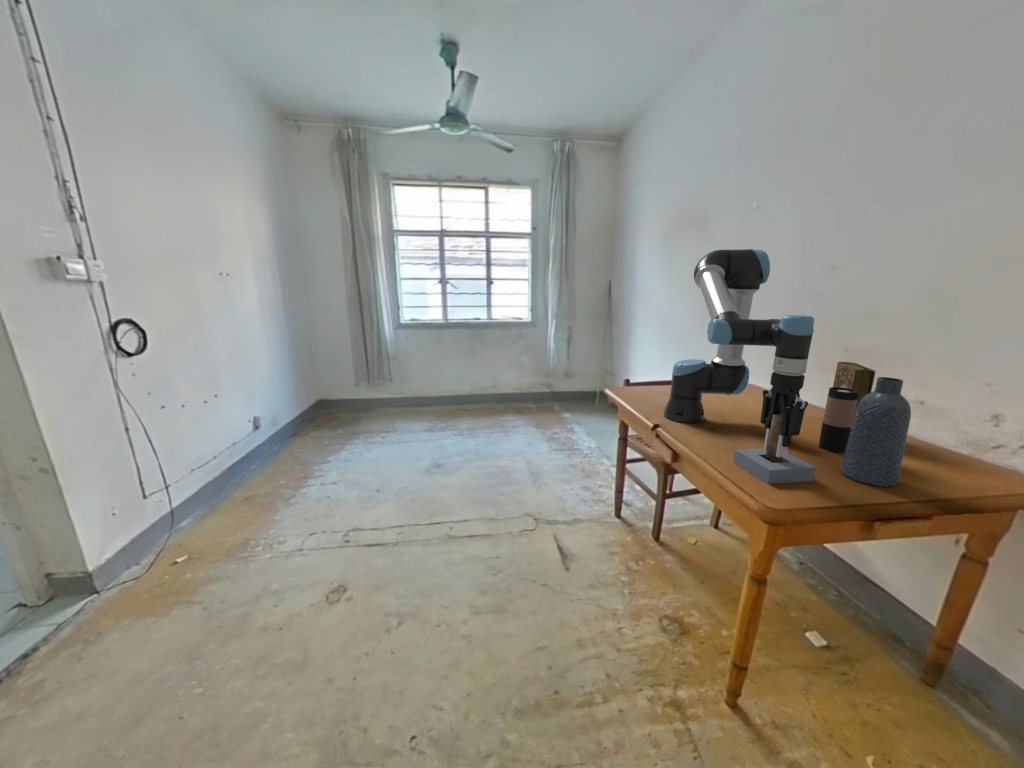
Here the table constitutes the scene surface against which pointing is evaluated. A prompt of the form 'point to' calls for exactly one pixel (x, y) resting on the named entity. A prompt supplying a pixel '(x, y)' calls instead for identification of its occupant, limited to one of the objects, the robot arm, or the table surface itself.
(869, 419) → the vase
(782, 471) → the socket block
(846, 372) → the book
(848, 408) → the travel mug
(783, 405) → the robot arm
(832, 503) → the table surface
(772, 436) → the peg
